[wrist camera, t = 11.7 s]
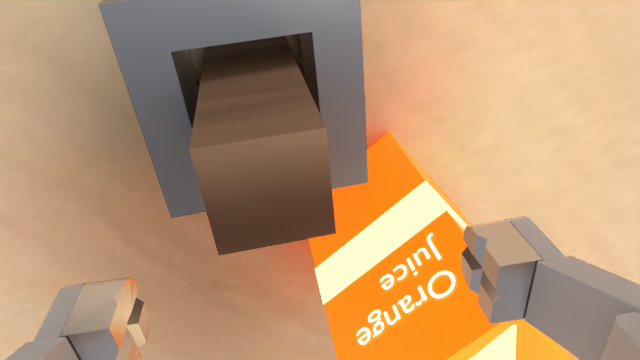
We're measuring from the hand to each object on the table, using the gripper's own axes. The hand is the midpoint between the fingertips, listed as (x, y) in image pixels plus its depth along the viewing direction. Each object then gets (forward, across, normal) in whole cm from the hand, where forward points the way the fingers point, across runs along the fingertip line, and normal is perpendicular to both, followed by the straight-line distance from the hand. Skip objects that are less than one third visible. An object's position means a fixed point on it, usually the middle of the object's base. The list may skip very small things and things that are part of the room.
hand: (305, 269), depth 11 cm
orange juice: (+16, -6, +10) cm, 20 cm away
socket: (+15, +1, 0) cm, 16 cm away
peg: (+16, +1, 0) cm, 16 cm away
